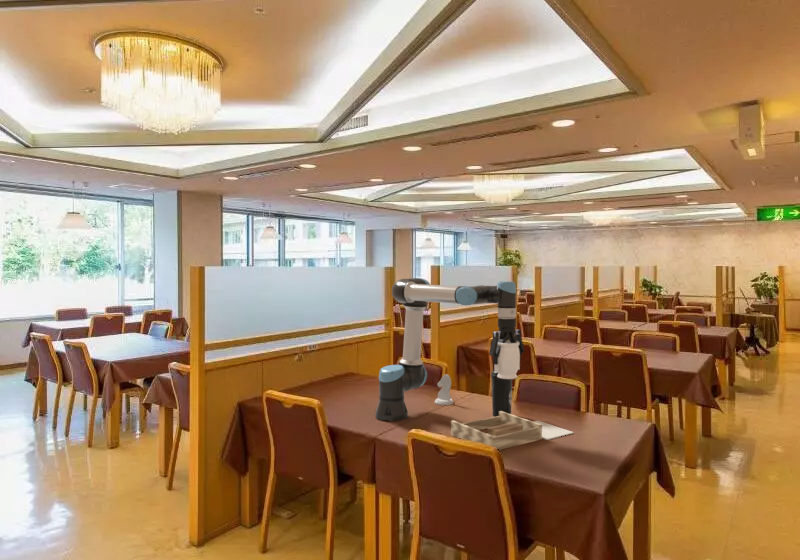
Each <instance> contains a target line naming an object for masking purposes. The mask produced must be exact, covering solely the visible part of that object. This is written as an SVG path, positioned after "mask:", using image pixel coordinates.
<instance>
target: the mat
mask: <svg viewBox="0 0 800 560" xmlns="http://www.w3.org/2000/svg"><path fill="white" fill-rule="evenodd" d="M533 422H536V423H539V424H542V439H544V440H546V441H549V440H553V439H557V438H562V437H565V435H566V436H568V435H569V434H570V435H574V433H575V432H574V431H571V430H568V429H566V428H562V427H559V426H555V425H553V424H550V423H546V422H544V421H541V420H534V421H533ZM570 435H569V436H570ZM561 436H562V437H561Z"/></svg>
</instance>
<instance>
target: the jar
mask: <svg viewBox="0 0 800 560" xmlns="http://www.w3.org/2000/svg"><path fill="white" fill-rule="evenodd" d="M516 342H517V341H516ZM519 344H520V343H519V342H517V343H511V342H510V341H509V340H507V341H506V342H505V343H498V345H497V346H501V349H500V354H499V356H498V357H500V373H498V375H497V377H498V378H501V379H512V380H515V379H518V375H517V373H518V371H519V370H518V367H519V360H520V352H519V347H518V345H519ZM520 361H521V360H520Z"/></svg>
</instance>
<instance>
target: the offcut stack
mask: <svg viewBox="0 0 800 560" xmlns="http://www.w3.org/2000/svg"><path fill="white" fill-rule="evenodd" d="M521 430H523V425H522V424H519V423H516V422H511V423H506V424H502V425H498V426H494V427H490V428H486V432H485V433H486V434H489V435H491V436H492V437H495V436H500V435H504V434H508V433H513V432H517V431H521Z"/></svg>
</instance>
